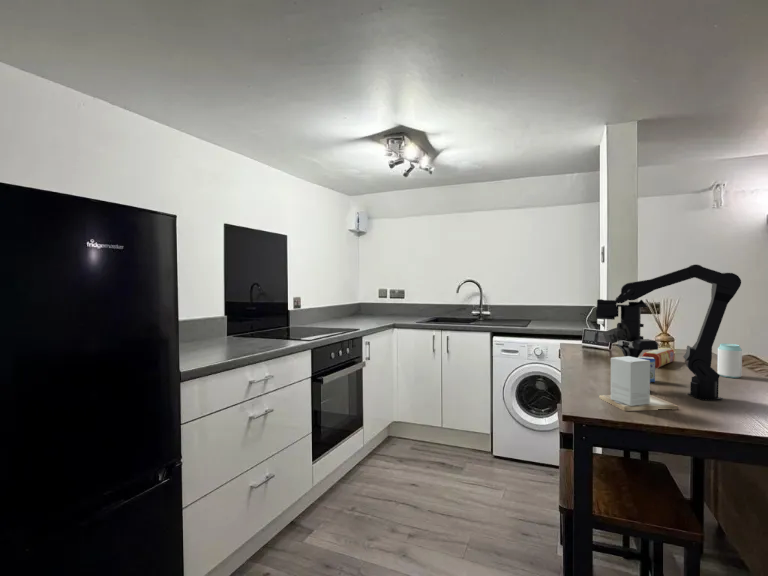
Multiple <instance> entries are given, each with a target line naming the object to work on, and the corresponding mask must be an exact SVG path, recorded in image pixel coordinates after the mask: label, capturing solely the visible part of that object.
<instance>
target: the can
mask: <svg viewBox="0 0 768 576" xmlns="http://www.w3.org/2000/svg"><path fill="white" fill-rule="evenodd" d="M740 346H741V345H739V344H735V343H720V344H719V346H718V347H717V364H716V365H717V371H716V372H717V373H718V374H719V375H720V377H723V378H728V379H739V378H741V377H742V372H743V371H742V368H743V364H742V363H743V349H742V348H741V347H740Z"/></svg>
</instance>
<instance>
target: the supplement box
mask: <svg viewBox="0 0 768 576" xmlns="http://www.w3.org/2000/svg"><path fill="white" fill-rule="evenodd" d="M650 388H651V382H650V360H645V359H640V358H635V357H631V356H625V357H624V356H616V357H610V395H611V399H612V400H615V401H618V402H621V403H624V404H627V405H630V406H634V405H643V404H649V403H650V395H651V393H650V392H651V389H650Z"/></svg>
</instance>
